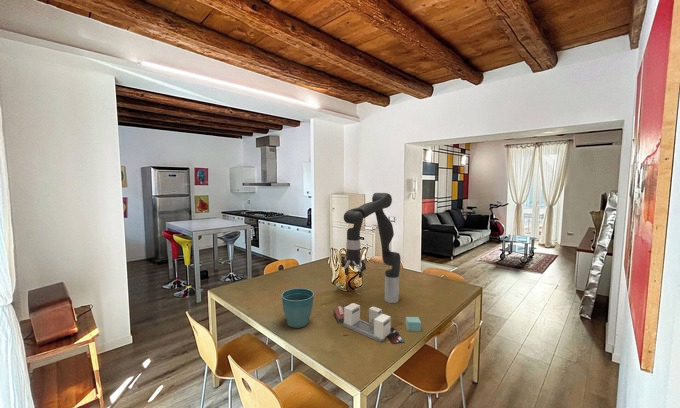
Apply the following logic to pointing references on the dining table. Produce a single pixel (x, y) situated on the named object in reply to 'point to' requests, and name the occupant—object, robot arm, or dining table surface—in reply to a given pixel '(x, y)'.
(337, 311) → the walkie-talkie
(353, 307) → the block
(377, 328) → the module
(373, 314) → the block
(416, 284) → the dining table surface
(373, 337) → the grey rectangular tray
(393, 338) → the smartphone
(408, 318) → the block
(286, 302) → the flower pot
